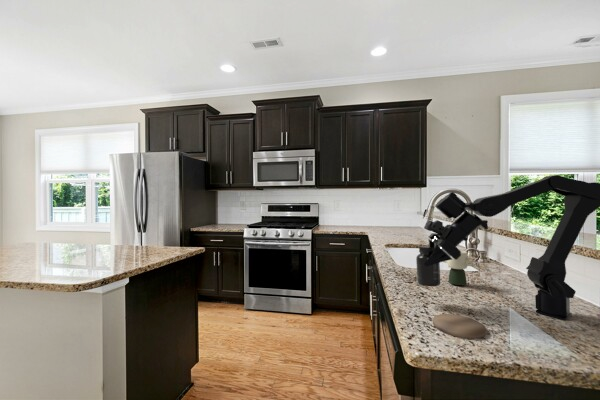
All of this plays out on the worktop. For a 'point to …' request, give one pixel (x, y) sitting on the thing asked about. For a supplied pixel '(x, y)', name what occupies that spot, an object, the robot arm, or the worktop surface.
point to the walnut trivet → (459, 326)
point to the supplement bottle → (427, 268)
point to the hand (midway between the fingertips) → (423, 262)
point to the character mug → (458, 268)
